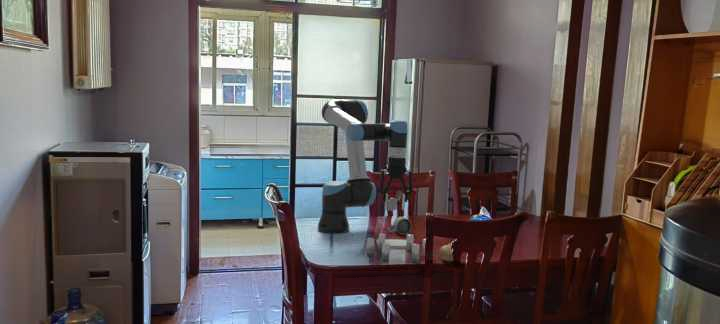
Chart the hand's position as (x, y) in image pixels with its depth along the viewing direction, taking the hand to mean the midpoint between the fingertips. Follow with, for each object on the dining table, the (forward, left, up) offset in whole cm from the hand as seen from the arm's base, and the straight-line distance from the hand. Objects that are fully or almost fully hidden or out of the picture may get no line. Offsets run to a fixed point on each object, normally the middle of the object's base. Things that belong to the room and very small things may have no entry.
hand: (394, 209), depth 234 cm
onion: (+20, -20, -17) cm, 33 cm away
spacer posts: (0, -15, -17) cm, 22 cm away
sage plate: (0, +1, -17) cm, 17 cm away
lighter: (0, 0, 0) cm, 0 cm away
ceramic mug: (+6, +24, -17) cm, 30 cm away
